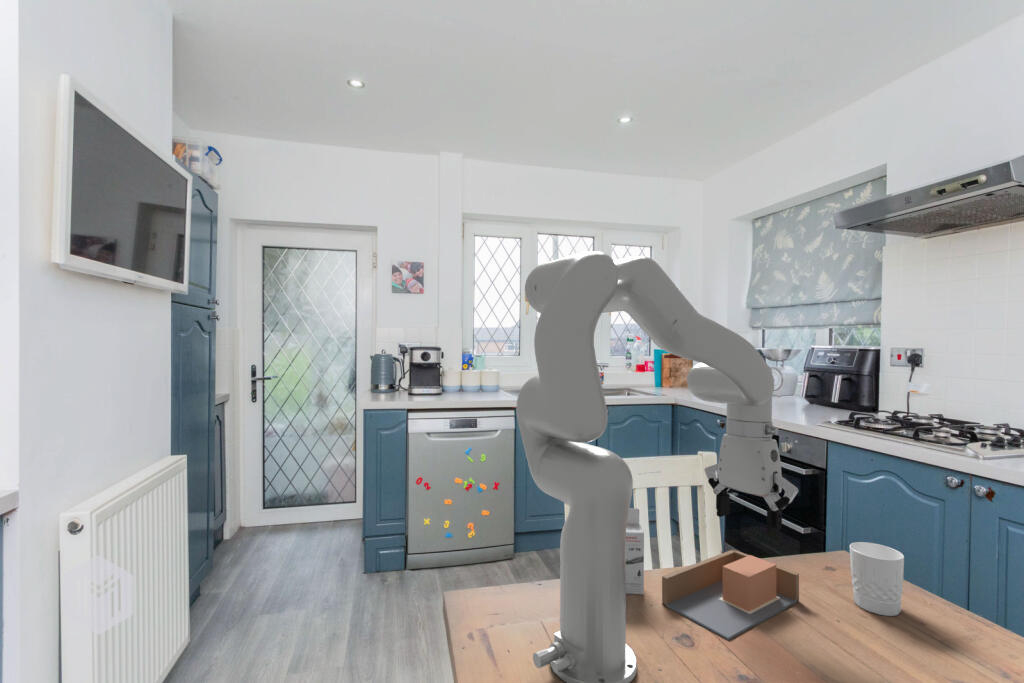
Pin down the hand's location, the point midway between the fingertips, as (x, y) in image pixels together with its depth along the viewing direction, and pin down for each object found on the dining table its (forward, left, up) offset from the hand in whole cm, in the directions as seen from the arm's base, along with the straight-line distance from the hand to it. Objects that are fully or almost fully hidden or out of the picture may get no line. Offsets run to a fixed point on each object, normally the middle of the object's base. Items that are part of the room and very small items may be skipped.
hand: (747, 523), depth 89 cm
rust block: (+1, 0, -14) cm, 14 cm away
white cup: (+18, -14, -15) cm, 27 cm away
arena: (-3, +2, -14) cm, 15 cm away
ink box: (-16, +16, -15) cm, 27 cm away
